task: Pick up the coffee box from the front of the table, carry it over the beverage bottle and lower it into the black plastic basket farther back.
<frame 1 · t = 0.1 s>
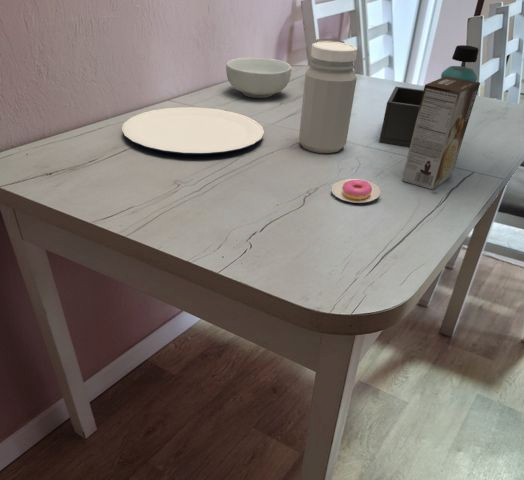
coffee box: (426, 179, 91), on the table
plate: (194, 136, 102), on the table
cereal bowl: (257, 95, 129), on the table
jar: (321, 147, 101), on the table
basket: (416, 137, 109), on the table
donut: (357, 193, 84), on the table
canned tomato: (324, 86, 140), on the table
beverage bottle: (434, 162, 98), on the table
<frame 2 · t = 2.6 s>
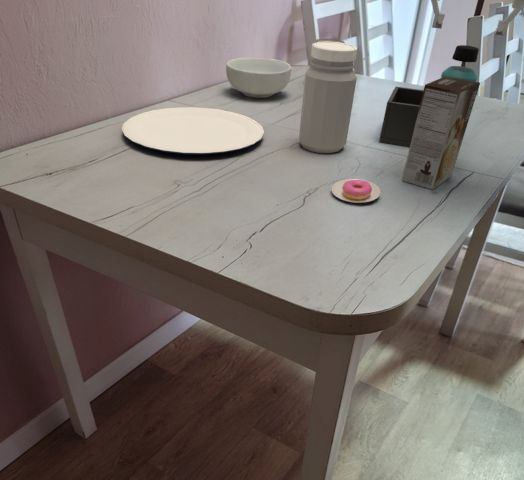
hand: (467, 31, 75), 23 cm above the table, tool pointing down, fingers open, 8 cm apart
nothing on the table moved.
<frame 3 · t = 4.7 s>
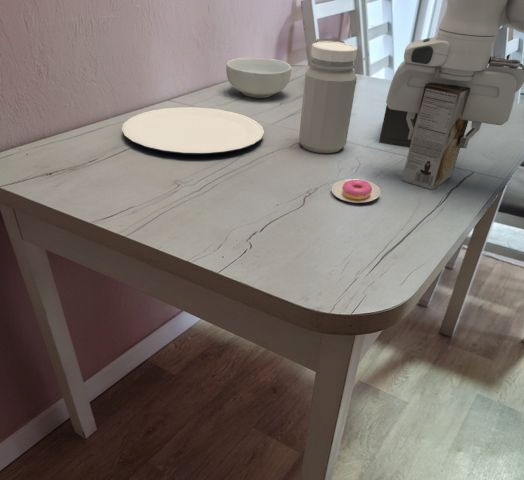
hand: (436, 143, 86), 6 cm above the table, tool pointing down, fingers closed on coffee box, 7 cm apart
coffee box: (426, 179, 91), on the table, touching gripper
everything else where it was.
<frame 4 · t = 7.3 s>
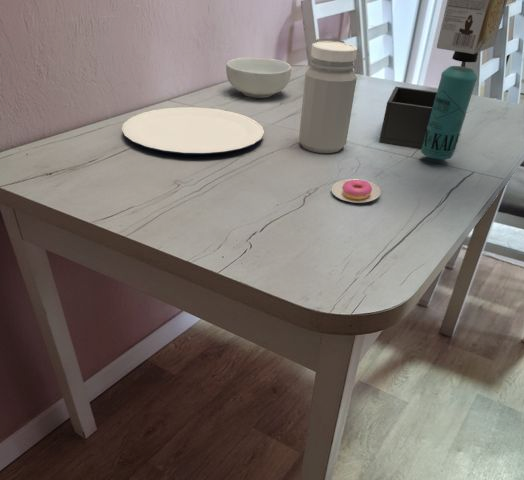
coffee box: (464, 49, 77), point 21 cm above the table, touching gripper
everything else where it was.
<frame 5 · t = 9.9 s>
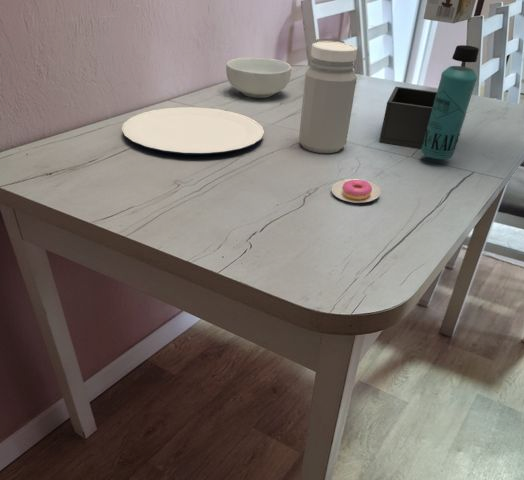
coffee box: (446, 20, 94), point 22 cm above the table, touching gripper
everything else where it was.
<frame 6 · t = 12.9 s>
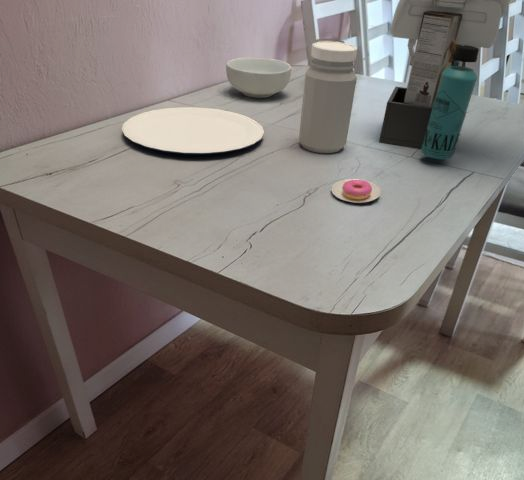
hand: (433, 68, 100), 14 cm above the table, tool pointing down, fingers closed on coffee box, 7 cm apart
coffee box: (425, 103, 104), point 7 cm above the table, touching gripper
everything else where it was.
when the fingers open (7 cm above the table, at t = 15.2 s): coffee box stays where it is, resting on basket.
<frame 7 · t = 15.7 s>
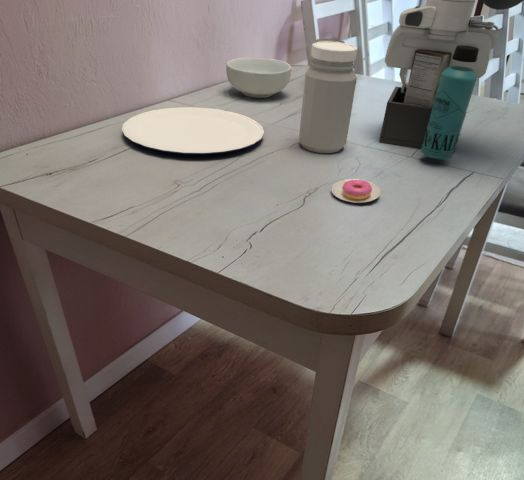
hand: (426, 95, 103), 9 cm above the table, tool pointing down, fingers open, 8 cm apart
coffee box: (417, 133, 108), point 1 cm above the table, touching basket
everything else where it was.
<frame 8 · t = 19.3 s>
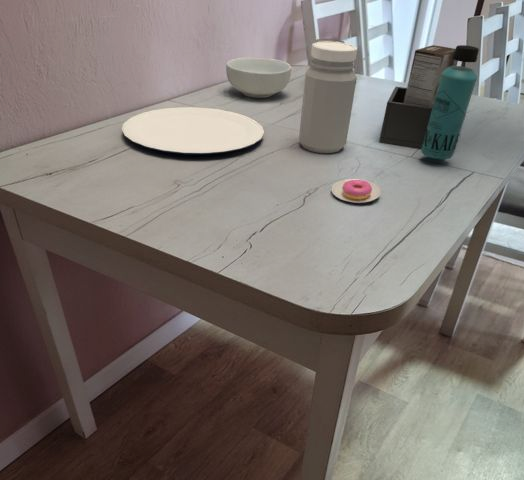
nothing on the table moved.
at the end: coffee box inside the target area in the basket (0.1 cm from its centre), point 0.8 cm above the basket's base; the gripper is holding nothing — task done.
